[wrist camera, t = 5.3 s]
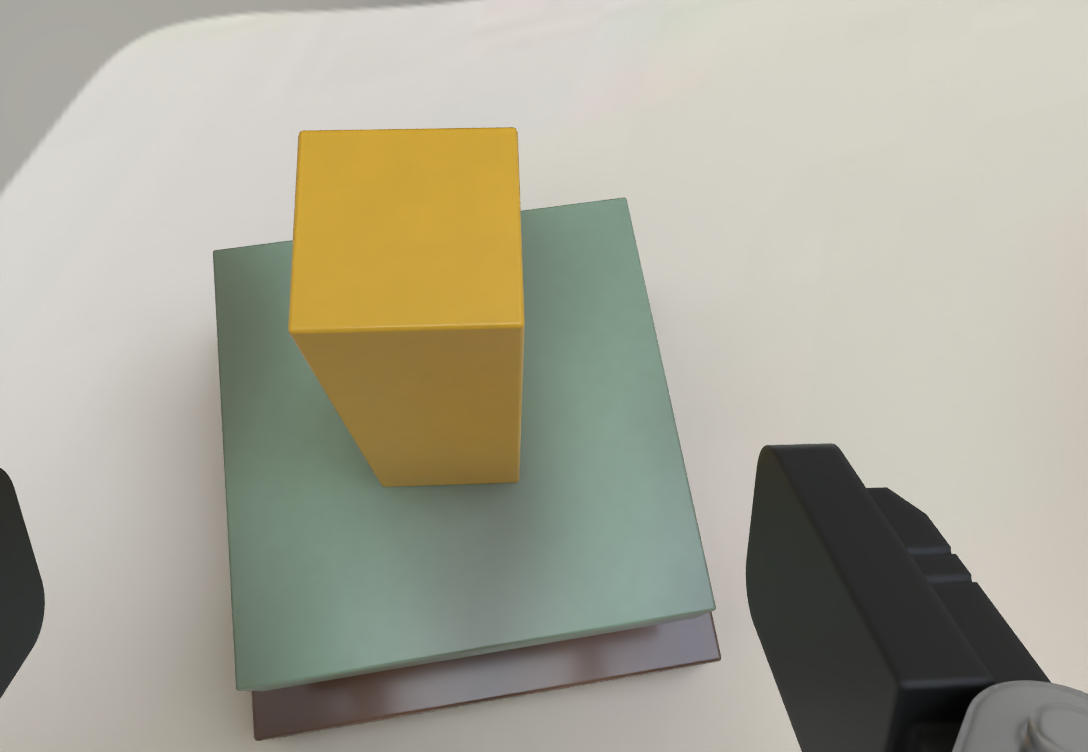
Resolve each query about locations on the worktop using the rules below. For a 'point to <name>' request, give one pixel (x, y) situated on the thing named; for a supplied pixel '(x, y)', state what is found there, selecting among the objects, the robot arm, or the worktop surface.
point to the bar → (414, 296)
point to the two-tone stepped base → (461, 509)
